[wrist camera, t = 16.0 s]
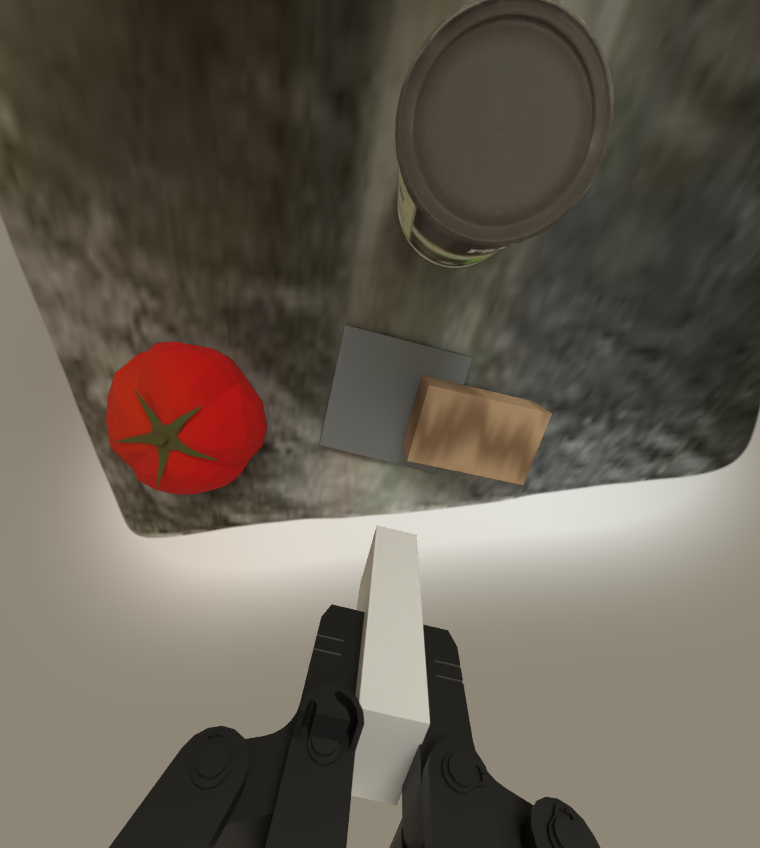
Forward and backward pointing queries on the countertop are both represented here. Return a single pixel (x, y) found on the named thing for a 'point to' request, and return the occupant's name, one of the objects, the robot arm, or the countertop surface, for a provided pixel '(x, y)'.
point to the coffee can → (499, 128)
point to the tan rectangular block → (474, 430)
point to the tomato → (184, 418)
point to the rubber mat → (382, 392)
